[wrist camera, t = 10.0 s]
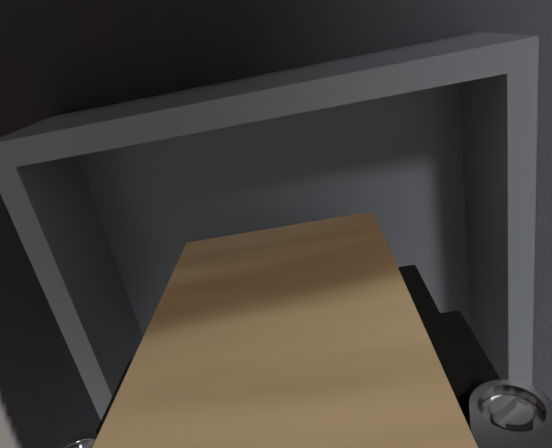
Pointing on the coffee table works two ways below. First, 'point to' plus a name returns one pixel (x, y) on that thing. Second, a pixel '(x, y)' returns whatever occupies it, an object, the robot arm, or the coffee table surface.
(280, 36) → the coffee table surface
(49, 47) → the coffee table surface
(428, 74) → the tray
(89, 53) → the coffee table surface
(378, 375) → the oak block
